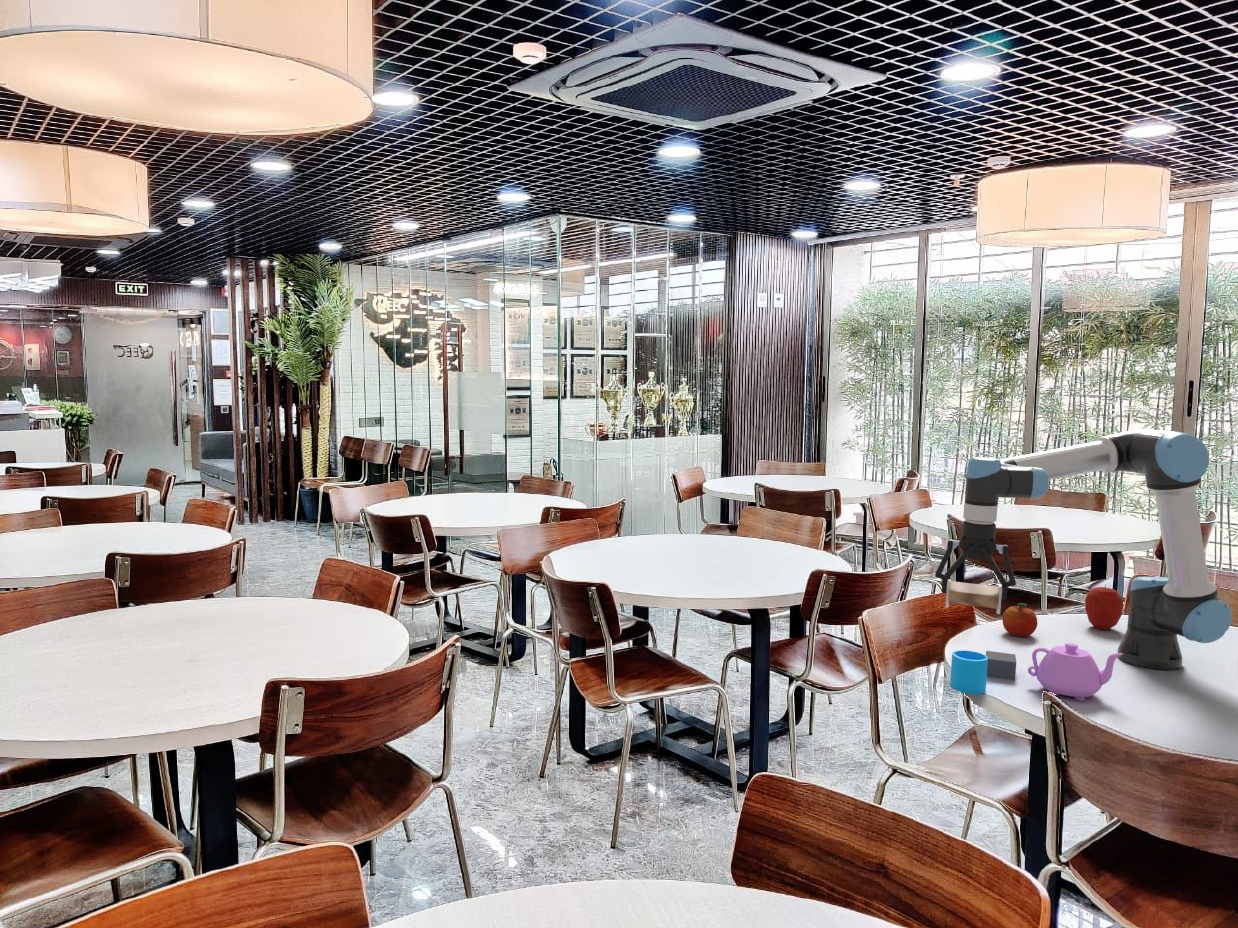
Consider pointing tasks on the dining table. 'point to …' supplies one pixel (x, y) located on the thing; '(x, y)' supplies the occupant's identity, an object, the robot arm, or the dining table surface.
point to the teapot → (1071, 671)
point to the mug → (968, 672)
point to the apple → (1103, 607)
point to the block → (974, 594)
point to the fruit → (1019, 620)
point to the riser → (1001, 665)
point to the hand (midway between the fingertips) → (972, 609)
